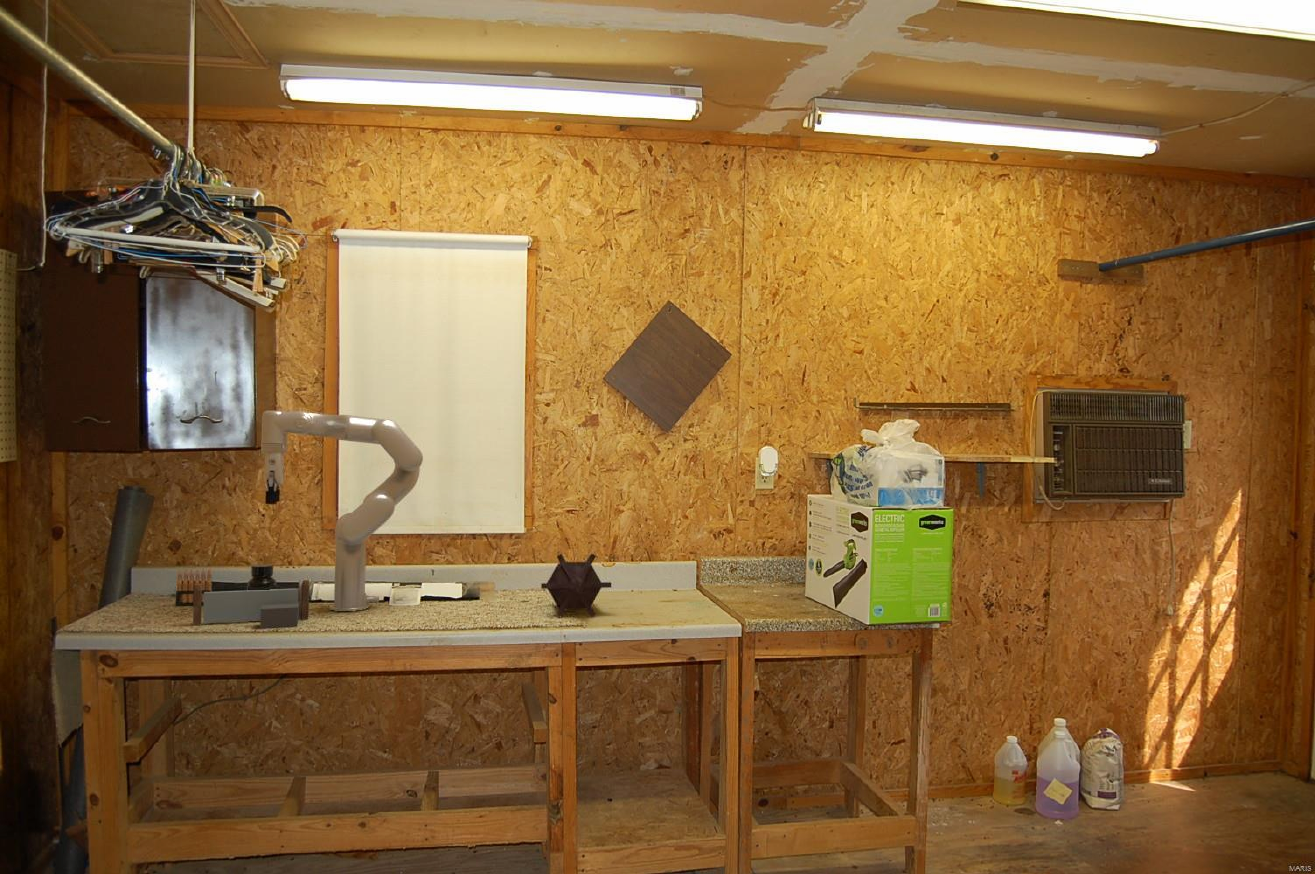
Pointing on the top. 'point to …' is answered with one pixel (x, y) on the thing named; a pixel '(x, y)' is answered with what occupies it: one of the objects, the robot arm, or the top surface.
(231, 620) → the door
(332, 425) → the robot arm
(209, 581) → the ammunition clip
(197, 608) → the door frame
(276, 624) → the doorstop block
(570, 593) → the black spiked polyhedron
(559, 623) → the top surface
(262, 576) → the ink bottle
